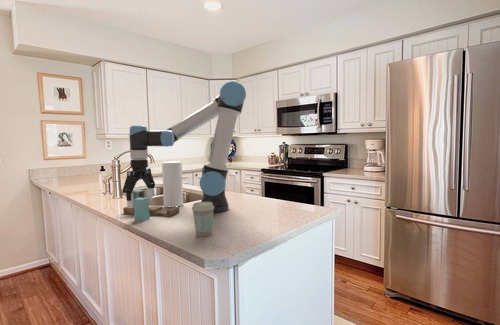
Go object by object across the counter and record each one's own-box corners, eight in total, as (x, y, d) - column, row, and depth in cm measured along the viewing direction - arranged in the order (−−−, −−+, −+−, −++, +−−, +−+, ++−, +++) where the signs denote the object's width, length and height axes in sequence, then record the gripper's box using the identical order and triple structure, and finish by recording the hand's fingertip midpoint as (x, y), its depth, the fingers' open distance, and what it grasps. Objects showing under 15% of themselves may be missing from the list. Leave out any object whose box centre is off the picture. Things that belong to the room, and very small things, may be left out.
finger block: (149, 218, 131) (148, 197, 131) (144, 221, 128) (143, 199, 127) (139, 218, 133) (138, 197, 132) (134, 220, 129) (132, 199, 128)
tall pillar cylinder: (186, 203, 163) (184, 161, 161) (178, 207, 152) (176, 162, 150) (169, 203, 165) (167, 161, 163) (160, 207, 154) (158, 162, 152)
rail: (179, 212, 141) (178, 190, 140) (171, 216, 134) (170, 193, 134) (132, 210, 149) (131, 189, 148) (123, 213, 142) (122, 191, 141)
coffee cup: (194, 231, 111) (192, 201, 110) (215, 230, 112) (214, 200, 111) (191, 238, 103) (190, 206, 102) (214, 237, 103) (213, 205, 102)
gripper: (149, 157, 141) (150, 198, 143) (112, 160, 117) (114, 210, 119) (161, 157, 139) (162, 199, 141) (127, 161, 115) (128, 211, 117)
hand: (140, 204), depth 130 cm, fingers open, 13 cm apart
